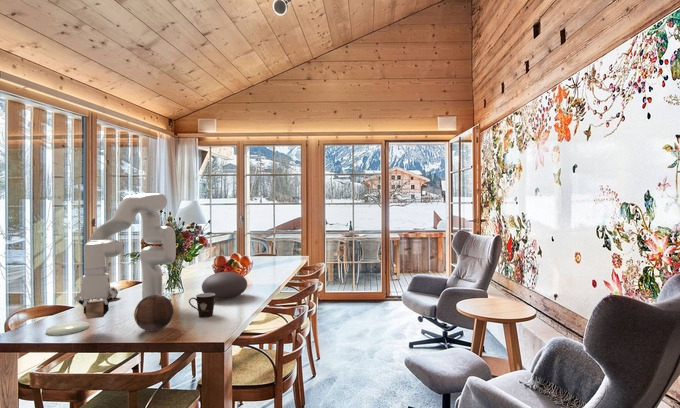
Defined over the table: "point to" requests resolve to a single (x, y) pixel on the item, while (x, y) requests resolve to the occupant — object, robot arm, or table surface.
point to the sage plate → (67, 328)
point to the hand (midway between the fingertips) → (96, 313)
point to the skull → (111, 294)
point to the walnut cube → (95, 309)
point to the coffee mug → (204, 304)
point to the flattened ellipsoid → (225, 285)
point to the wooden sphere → (153, 312)
